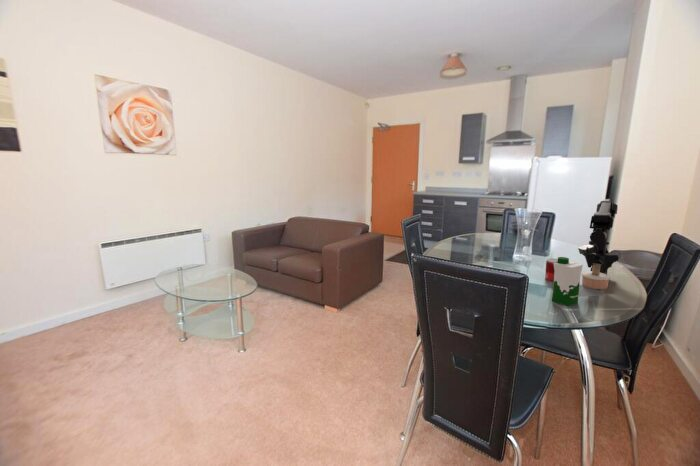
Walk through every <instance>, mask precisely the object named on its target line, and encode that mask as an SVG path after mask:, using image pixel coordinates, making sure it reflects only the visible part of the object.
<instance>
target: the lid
mask: <svg viewBox="0 0 700 466" xmlns="http://www.w3.org/2000/svg"><path fill="white" fill-rule="evenodd" d="M591 268H592V271H591V270H588V271H581V276H583V277H585V278H589V279H593V280H610V279H611V276H610V275H609V274H608V273H607V274H604V273H600V265H598V264H593V267H592V266H591Z"/></svg>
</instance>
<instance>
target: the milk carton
mask: <svg viewBox="0 0 700 466" xmlns="http://www.w3.org/2000/svg"><path fill="white" fill-rule="evenodd" d="M557 259H558V262H555V263H553V264H554V271H555V273H554V282H553V286H552V287H553V288H552V296H551V302H553V303H554V302H555V303H556V304H557V303H558V304H559V305H560V304H561V305H563V306H566V307H570V306H573V305H576V304H579V296H578V295H579V285H581V283H580V282H581V276H582V269H583V264H580V263H577V262H573V261H570V258H568V257H564V256H559V257H557Z"/></svg>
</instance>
